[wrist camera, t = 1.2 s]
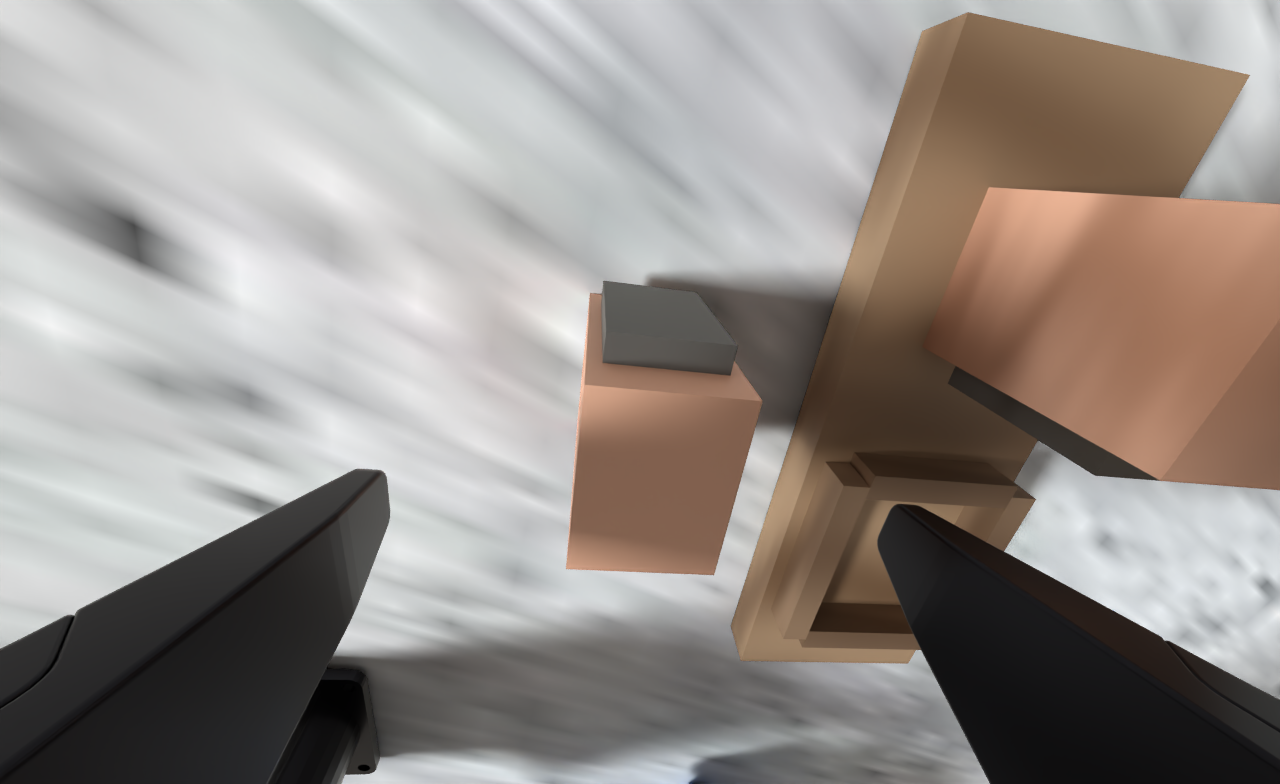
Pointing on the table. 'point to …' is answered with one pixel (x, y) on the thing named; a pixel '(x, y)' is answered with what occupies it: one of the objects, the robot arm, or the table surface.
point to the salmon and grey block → (657, 434)
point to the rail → (914, 243)
